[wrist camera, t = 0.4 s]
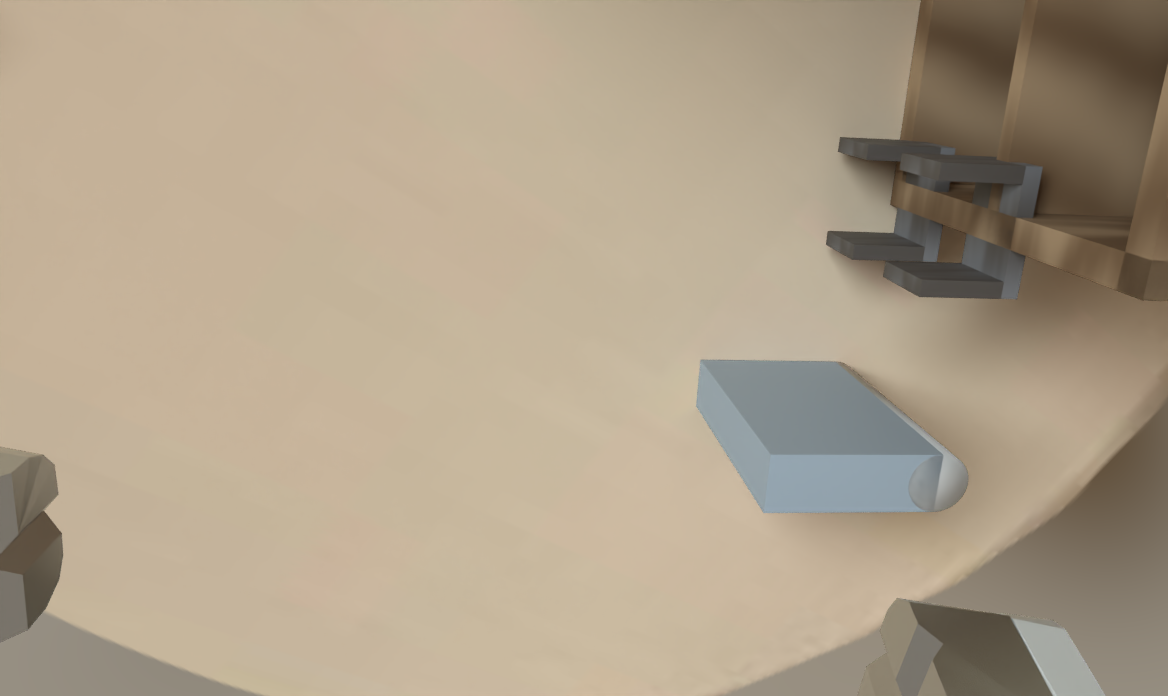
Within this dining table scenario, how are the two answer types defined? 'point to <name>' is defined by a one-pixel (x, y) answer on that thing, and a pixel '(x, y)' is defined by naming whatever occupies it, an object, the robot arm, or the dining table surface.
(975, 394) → the dining table surface
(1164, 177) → the cabinet
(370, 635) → the dining table surface
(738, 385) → the door
